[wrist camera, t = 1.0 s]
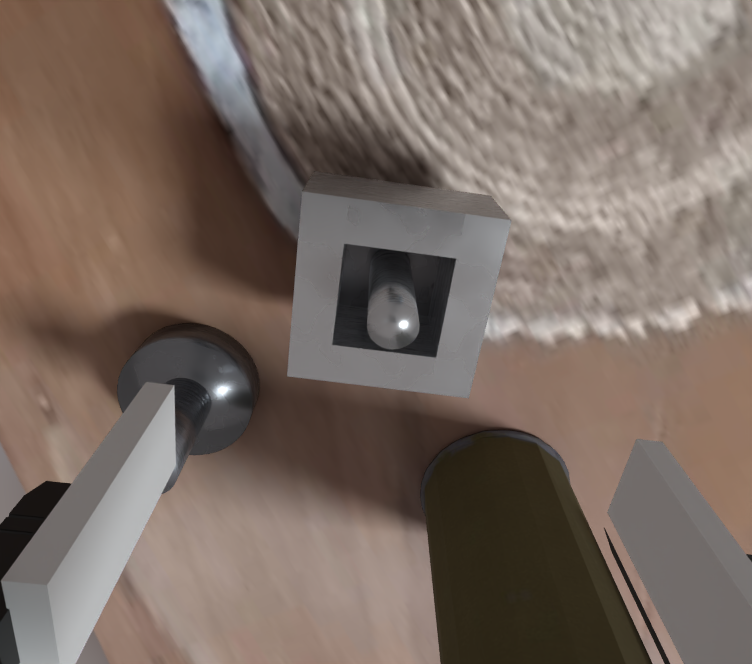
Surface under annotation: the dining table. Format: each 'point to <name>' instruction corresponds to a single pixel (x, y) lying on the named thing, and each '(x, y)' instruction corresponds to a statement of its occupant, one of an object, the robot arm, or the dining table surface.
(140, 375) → the cylinder
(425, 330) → the grey square ring block
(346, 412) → the dining table surface
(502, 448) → the canister
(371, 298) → the stand
